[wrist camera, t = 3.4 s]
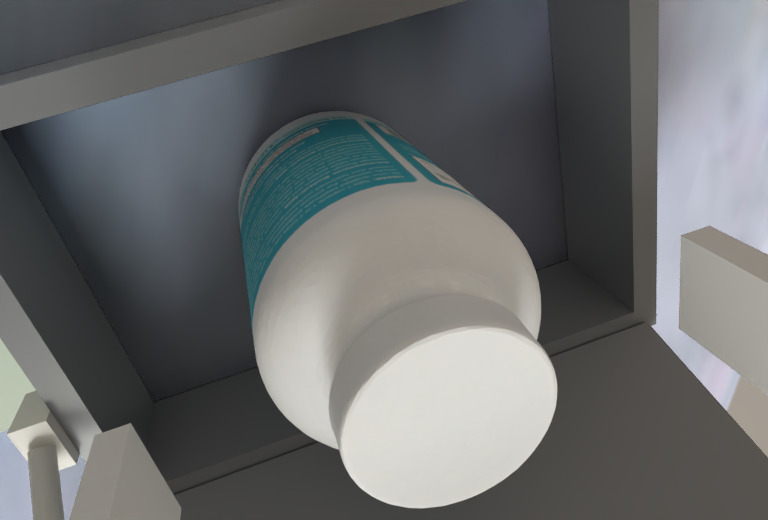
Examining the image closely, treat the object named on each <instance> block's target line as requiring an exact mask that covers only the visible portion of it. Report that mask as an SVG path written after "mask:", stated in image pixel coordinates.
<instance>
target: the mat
mask: <svg viewBox="0 0 768 520" xmlns="http://www.w3.org/2000/svg"><path fill="white" fill-rule="evenodd" d="M33 391H36V389H35V388H34V387H33V385H32V384H31V382H30V381H29V379H28V378H27V376H26V375H25V374H24V372H23V371H22V369H21V368H20V366H19V365H18V363H17V362H16V360H15V359H14V358H13V356H12V355H11V353H10V352H9V350H8V349H7V347H6V346H5V344H4V343H3V342H2V340H1V339H0V432H3V431H5V430H8V429H9V428H10V426H11V424H12V422H13V420H14V418H15V416H16V413H17V411H18V409H19V407H20V405H21V403H22V401H23V399H24V396H25V394H27V393H30V392H33Z"/></svg>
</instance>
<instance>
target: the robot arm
mask: <svg viewBox="0 0 768 520" xmlns="http://www.w3.org/2000/svg"><path fill="white" fill-rule="evenodd" d="M679 329H680V330H682V331H683V332H684V333H686V334H687V335H688V336H690V337H691V338H692V339H694V340H695V341H696V342H698V343H699V344H700V345H702V346H703V347H704V348H705V349H707V350H708V351H709V352H711V353H712V354H713V355H715V356H716V357H717V358H719V359H720V360H721V361H723V362H724V363H725V364H727V365H728V366H729V367H731V368H732V369H733V370H735V371H736V372H737V373H738V374H740V375H741V376H742V377H744V378H745V379H747V380H748V381H749V382H750V383H752V384H753V385H754V386H756V387H757V388H758V389H760V390H761V391H762V392H764V393H765V394H766V395H768V255H767V254H765V253H763V252H761V251H759V250H757V249H755V248H753V247H751V246H749V245H747V244H745V243H743V242H741V241H739V240H737V239H735V238H733V237H731V236H729V235H727V234H725V233H723V232H721V231H719V230H717V229H715V228H713V227H711V226H707V227H704V228H702V229H699V230H696V231H693V232H690V233H687V234H684V235H681V259H680V304H679ZM180 518H181V506H180V505H179V503H178V501H177V500H176V498H175V496H174V495H173V493H172V491H171V490H170V488H169V486H168V485H167V483H166V481H165V480H164V478H163V476H162V475H161V473H160V471H159V470H158V468H157V466H156V465H155V463H154V461H153V460H152V458H151V456H150V455H149V453H148V451H147V450H146V448H145V446H144V444H143V443H142V441H141V439H140V438H139V436H138V434H137V433H136V431H135V429H134V428H133V426H132V424H131V423H130V424H127V425H124V426H121V427H118V428H115V429H112V430H109V431H106V432H103V433H100V434H97V435H95V436H94V439H93V442H92V446H91V449H90V452H89V456H88V459H87V462H86V466H85V469H84V472H83V476H82V479H81V482H80V486H79V489H78V492H77V496H76V499H75V503H74V506H73V509H72V513H71V516H70V519H69V520H180Z"/></svg>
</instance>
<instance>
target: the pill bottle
mask: <svg viewBox="0 0 768 520" xmlns="http://www.w3.org/2000/svg"><path fill="white" fill-rule="evenodd" d="M238 212H239V223H240V232H241V241H242V249H243V257H244V265H245V274H246V282H247V290H248V299H249V307H250V317H251V326H252V333H253V340H254V348H255V354H256V360H257V365H258V368H259V372H260V375H261V378H262V380H263V383H264V385H265V387H266V390H267V392H268V393H269V395H270V397H271V398H272V400H273V401H274V403H275V404H276V406H277V407H278V409H279V410H280V411H281V412H282V414H283V415H284V416H285V417H286V418H287V419H288V420H289V421H290V422H291V423H292V424H294V425H295V426H296V427H297V428H298V429H299V430H301V431H302V432H304V433H305V434H306V435H308V436H309V437H311V438H313V439H315V440H317V441H319V442H321V443H323V444H325V445H328V446H330V447H332V448H335V449H338V450H339V451H340V455H341V458H342V461H343V464H344V466H345V468H346V470H347V472H348V473H349V475H350V477H351V478H352V479H353V480H354V482H355V483H356V484H357V485H358V486H359V487H360V488H361V489H362V490H363V491H365V492H366V493H368V494H369V495H371V496H372V497H374V498H376V499H378V500H380V501H383V502H385V503H388V504H391V505H396V506H401V507H407V508H430V507H439V506H446V505H449V504H453V503H456V502H460V501H463V500H466V499H468V498H471V497H473V496H476V495H478V494H480V493H482V492H484V491H486V490H488V489H489V488H491V487H493V486H494V485H496V484H498V483H499V482H501V481H502V480H504V479H505V478H507V477H508V476H509V475H510V474H512V473H513V472H514V471H516V470H517V469H518V468H519V467H520V466H521V465H522V464H523V463H524V462H525V461H526V460H527V459H528V457H529V456H530V455H531V454H532V453H533V452H534V450H535V449H536V447H537V446H538V445H539V443H540V442H541V440H542V438H543V437H544V435H545V433H546V432H547V430H548V428H549V425H550V423H551V421H552V418H553V415H554V412H555V408H556V401H557V379H556V374H555V370H554V367H553V365H552V363H551V360H550V358H549V356H548V355H547V353H546V351H545V350H544V349H543V348H542V346H541V345H540V344H539V343H538V341H537V338H538V334H539V328H540V321H541V294H540V288H539V282H538V278H537V274H536V271H535V268H534V265H533V263H532V260H531V258H530V256H529V254H528V252H527V250H526V248H525V247H524V245H523V243H522V242H521V241H520V239H519V238H518V236H517V235H516V234H515V233H514V232H513V230H512V229H511V228H510V227H509V226H508V225H507V224H506V223H505V222H504V221H503V220H502V219H501V218H500V217H499V216H497V215H496V214H495V213H494V212H493V211H491V210H490V209H489V208H488V207H487V206H485V205H484V204H483V203H482V202H481V201H479V200H478V199H477V198H476V197H475V196H473V195H472V194H471V193H470V192H468V191H467V190H466V189H465V188H464V187H462V186H461V185H460V184H459V183H457V182H456V181H455V180H454V179H453V178H452V177H450V176H449V175H448V174H447V173H445V172H444V171H443V170H442V169H441V168H439V167H438V166H437V165H436V164H434V163H433V162H432V161H431V160H430V159H428V158H427V157H426V156H425V155H424V154H422V153H421V152H420V151H419V150H418V149H417V148H415V147H414V146H413V145H412V144H411V143H409V142H408V141H407V140H406V139H405V138H403V137H402V136H401V135H399V134H398V133H397V132H396V131H394V130H393V129H392V128H390V127H389V126H387V125H386V124H384V123H382V122H380V121H378V120H376V119H374V118H372V117H369V116H366V115H363V114H359V113H353V112H347V111H328V112H319V113H315V114H310V115H307V116H304V117H301V118H299V119H296V120H294V121H292V122H290V123H288V124H287V125H285V126H283V127H282V128H280V129H279V130H278V131H276V132H275V133H274V134H272V135H271V136H270V137H269V138H268V139H267V140H266V141H265V142H264V143H263V144H262V145H261V147H260V148H259V149H258V150H257V152H256V153H255V155H254V156H253V158H252V159H251V161H250V163H249V165H248V167H247V169H246V171H245V174H244V176H243V179H242V183H241V186H240V192H239V201H238Z"/></svg>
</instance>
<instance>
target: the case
mask: <svg viewBox="0 0 768 520" xmlns="http://www.w3.org/2000/svg"><path fill="white" fill-rule="evenodd" d="M463 1H467V0H280V1H276V2H272V3H269V4H265V5H261V6H257V7H254V8H250V9H246V10H242V11H239V12H235V13H231V14H227V15H224V16H220V17H216V18H213V19H209V20H205V21H201V22H198V23H194V24H190V25H186V26H183V27H179V28H175V29H171V30H168V31H164V32H160V33H156V34H153V35H149V36H145V37H141V38H138V39H134V40H130V41H126V42H123V43H119V44H115V45H112V46H108V47H104V48H100V49H97V50H93V51H89V52H85V53H82V54H78V55H74V56H70V57H67V58H63V59H59V60H55V61H52V62H48V63H44V64H40V65H37V66H33V67H29V68H25V69H22V70H18V71H14V72H11V73H7V74H3V75H0V339H1V340H2V342H3V343H4V344H5V346H6V347H7V349H8V350H9V352H10V353H11V355H12V356H13V358H14V359H15V360H16V362H17V363H18V365H19V366H20V368H21V369H22V371H23V372H24V374H25V375H26V376H27V378H28V379H29V381H30V382H31V384H32V385H33V387H34V388H35V389H36V391H33V392H30V393H27V394H25V396H24V399H23V401H22V403H21V405H20V407H19V409H18V411H17V413H16V416H15V418H14V420H13V422H12V424H11V426H10V428H9V431H8V433H7V435H8V437H9V438H10V439H11V441H12V442H13V443H14V444H15V446H16V447H17V448H18V450H19V451H20V452H21V454H22V455H23V456H24V458H25V459H26V460H27V462H28V466H29V477H30V488H31V499H32V510H33V520H64V511H63V502H62V493H61V484H60V475H59V470H62V469H65V468H67V467H70V466H73V465H76V464H77V460H78V457H79V454H80V455H81V456H82V458H83V459H84V461H85V462H87V459H88V456H89V452H90V449H91V446H92V442H93V439H94V436H95V435H97V434H100V433H103V432H106V431H109V430H112V429H115V428H118V427H121V426H124V425H127V424H130V423H131V424H132V426H133V428H134V429H135V431H136V433H137V434H138V436H139V438H140V439H141V441H142V443H143V444H144V446H145V448H146V450H147V451H148V453H149V455H150V456H151V458H152V460H153V461H154V463H155V465H156V466H157V468H158V470H159V471H160V473H161V475H162V476H163V478H164V480H165V481H166V483H167V485H168V486H169V488H170V490H171V491H172V493H173V495H174V496H175V498H176V500H177V501H178V503H179V505H180V506H181V518H180V520H768V458H767V456H766V455H765V454H764V453H763V452H762V451H761V449H760V448H759V447H758V446H757V445H756V444H755V443H754V442H753V440H752V439H751V438H750V437H749V436H748V435H747V434H746V433H745V431H744V430H743V429H742V428H741V427H740V426H739V425H738V424H737V423H736V421H734V419H733V418H732V417H731V416H730V415H729V414H728V412H727V411H726V410H725V409H724V408H723V407H722V406H721V405H720V403H719V402H718V401H717V400H716V399H715V398H714V397H713V396H712V394H711V393H710V392H709V391H708V390H707V389H706V388H705V387H704V385H703V384H702V383H701V382H700V381H699V380H698V379H697V378H696V376H695V375H694V374H693V373H692V372H691V371H690V370H689V369H688V367H687V366H686V365H685V364H684V363H683V362H682V361H681V360H680V358H679V357H678V356H677V355H676V354H675V353H674V352H673V351H672V349H671V348H670V347H669V346H668V345H667V344H666V343H665V342H664V340H663V339H662V338H661V337H660V336H659V335H658V334H657V333H656V331H655V330H654V329H653V328H652V327H651V326H652V325H655V324H656V264H657V128H658V0H548V11H549V23H550V36H551V49H552V61H553V74H554V87H555V99H556V112H557V124H558V137H559V150H560V162H561V175H562V188H563V200H564V213H565V225H566V238H567V251H568V260H566V261H563V262H560V263H557V264H554V265H551V266H548V267H546V268H543V269H540V270H537V271H536V274H537V278H538V282H539V288H540V294H541V321H540V328H539V334H538V338H537V341H538V343H539V344H540V345H541V346H542V348H543V349H544V350H545V351H546V353H547V355H548V356H549V358H550V360H551V363H552V365H553V367H554V370H555V374H556V379H557V401H556V408H555V412H554V415H553V418H552V421H551V423H550V425H549V428H548V430H547V432H546V433H545V435H544V437H543V438H542V440H541V442H540V443H539V445H538V446H537V447H536V449H535V450H534V452H533V453H532V454H531V455H530V456H529V457H528V459H527V460H526V461H525V462H524V463H523V464H522V465H521V466H520V467H519V468H518V469H517V470H516V471H514V472H513V473H512V474H510V475H509V476H508V477H507V478H505V479H504V480H502V481H501V482H499V483H498V484H496V485H494V486H493V487H491V488H489V489H488V490H486V491H484V492H482V493H480V494H478V495H476V496H473V497H471V498H468V499H466V500H463V501H460V502H456V503H453V504H449V505H446V506H439V507H430V508H407V507H401V506H396V505H391V504H388V503H385V502H383V501H380V500H378V499H376V498H374V497H372V496H371V495H369V494H368V493H366V492H365V491H363V490H362V489H361V488H360V487H359V486H358V485H357V484H356V483H355V482H354V480H353V479H352V478H351V477H350V475H349V473H348V472H347V470H346V468H345V466H344V464H343V461H342V458H341V455H340V451H339V450H338V449H335V448H332V447H330V446H328V445H325V444H323V443H321V442H319V441H317V440H315V439H313V438H311V437H309V436H308V435H306V434H305V433H304V432H302V431H301V430H299V429H298V428H297V427H296V426H295V425H294V424H292V423H291V422H290V421H289V420H288V419H287V418H286V417H285V416H284V415H283V414H282V412H281V411H280V410H279V409H278V407H277V406H276V404H275V403H274V401H273V400H272V398H271V397H270V395H269V393H268V392H267V390H266V387H265V385H264V383H263V380H262V378H261V375H260V372H259V368H258V367H256V368H253V369H250V370H247V371H244V372H241V373H239V374H236V375H233V376H230V377H227V378H224V379H221V380H218V381H215V382H212V383H210V384H207V385H204V386H201V387H198V388H195V389H192V390H189V391H186V392H184V393H181V394H178V395H175V396H172V397H169V398H166V399H163V400H160V401H157V402H155V403H154V402H153V400H152V398H151V396H150V395H149V393H148V391H147V389H146V387H145V386H144V384H143V382H142V380H141V379H140V377H139V375H138V373H137V371H136V370H135V368H134V366H133V364H132V363H131V361H130V359H129V357H128V356H127V354H126V352H125V350H124V348H123V347H122V345H121V343H120V341H119V340H118V338H117V336H116V334H115V332H114V331H113V329H112V327H111V325H110V324H109V322H108V320H107V318H106V317H105V315H104V313H103V311H102V309H101V308H100V306H99V304H98V302H97V301H96V299H95V297H94V295H93V293H92V292H91V290H90V288H89V286H88V285H87V283H86V281H85V279H84V278H83V276H82V274H81V272H80V270H79V269H78V267H77V265H76V263H75V262H74V260H73V258H72V256H71V254H70V253H69V251H68V249H67V247H66V246H65V244H64V242H63V240H62V239H61V237H60V235H59V233H58V231H57V230H56V228H55V226H54V224H53V223H52V221H51V219H50V217H49V215H48V214H47V212H46V210H45V208H44V207H43V205H42V203H41V201H40V200H39V198H38V196H37V194H36V192H35V191H34V189H33V187H32V185H31V184H30V182H29V180H28V178H27V176H26V175H25V173H24V171H23V169H22V168H21V166H20V164H19V162H18V161H17V159H16V157H15V155H14V153H13V152H12V150H11V148H10V146H9V145H8V143H7V141H6V139H5V137H4V136H3V134H2V132H1V130H4V129H8V128H11V127H15V126H18V125H22V124H26V123H29V122H33V121H36V120H40V119H44V118H47V117H51V116H54V115H58V114H61V113H65V112H69V111H72V110H76V109H79V108H83V107H87V106H90V105H94V104H97V103H101V102H105V101H108V100H112V99H115V98H119V97H122V96H126V95H130V94H133V93H137V92H140V91H144V90H148V89H151V88H155V87H158V86H162V85H166V84H169V83H173V82H176V81H180V80H183V79H187V78H191V77H194V76H198V75H201V74H205V73H209V72H212V71H216V70H219V69H223V68H227V67H230V66H234V65H237V64H241V63H244V62H248V61H252V60H255V59H259V58H262V57H266V56H270V55H273V54H277V53H280V52H284V51H288V50H291V49H295V48H298V47H302V46H305V45H309V44H313V43H316V42H320V41H323V40H327V39H331V38H334V37H338V36H341V35H345V34H349V33H352V32H356V31H359V30H363V29H366V28H370V27H374V26H377V25H381V24H384V23H388V22H392V21H395V20H399V19H402V18H406V17H410V16H413V15H417V14H420V13H424V12H427V11H431V10H435V9H438V8H442V7H445V6H449V5H453V4H456V3H460V2H463Z"/></svg>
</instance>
